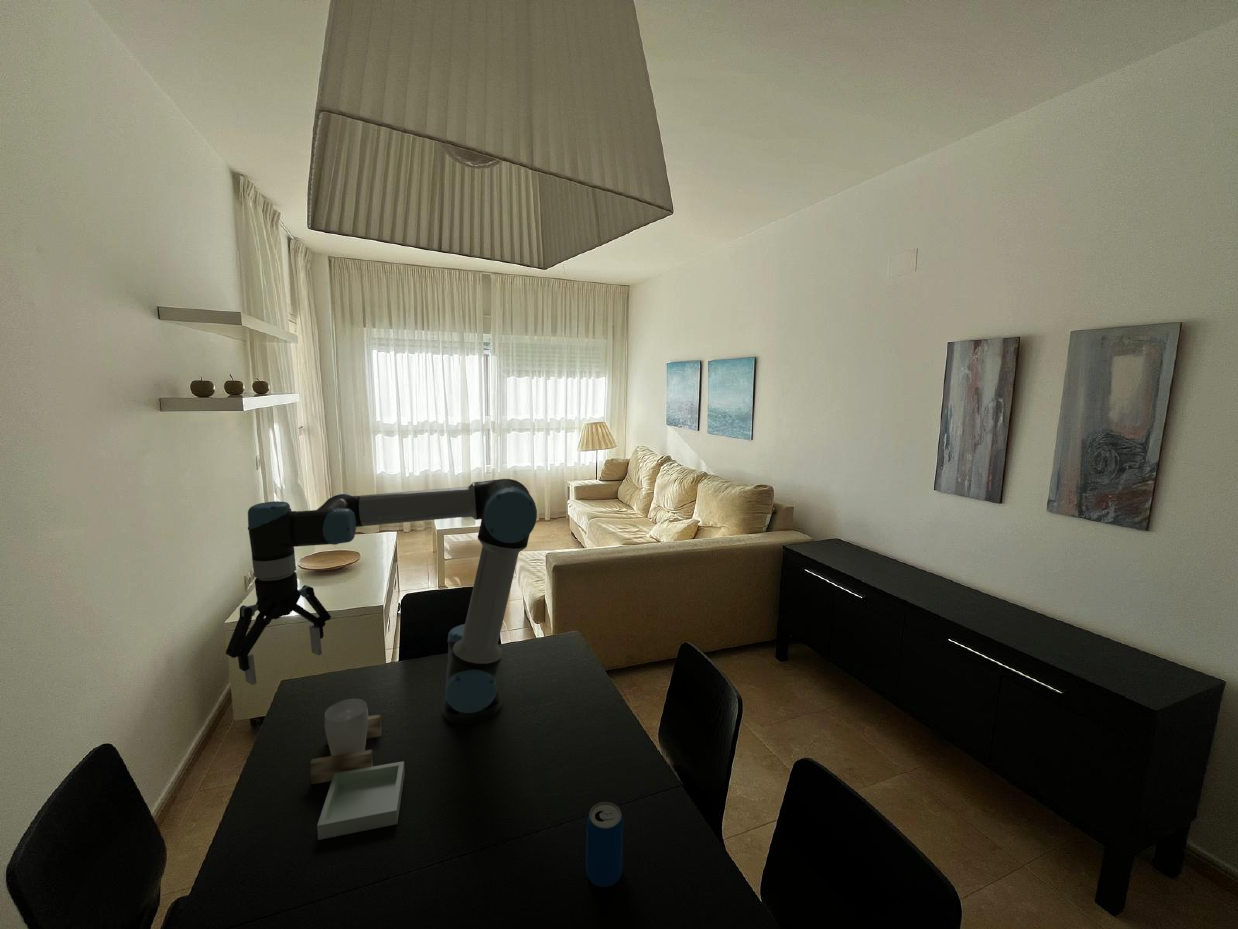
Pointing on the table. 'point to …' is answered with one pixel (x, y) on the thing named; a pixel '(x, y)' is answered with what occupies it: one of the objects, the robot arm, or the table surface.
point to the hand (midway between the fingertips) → (285, 667)
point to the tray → (362, 800)
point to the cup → (346, 726)
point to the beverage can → (604, 844)
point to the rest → (345, 757)
